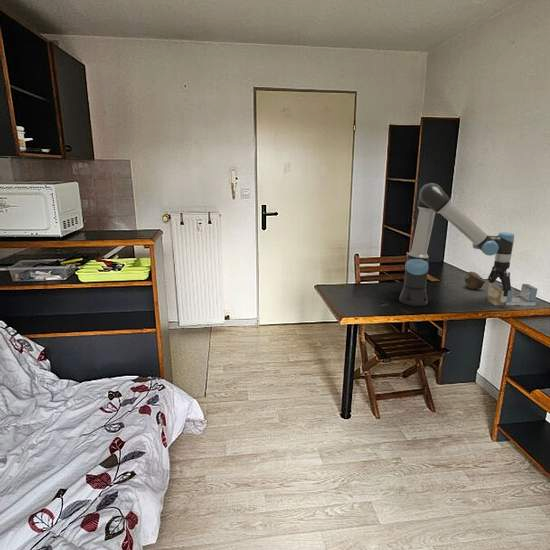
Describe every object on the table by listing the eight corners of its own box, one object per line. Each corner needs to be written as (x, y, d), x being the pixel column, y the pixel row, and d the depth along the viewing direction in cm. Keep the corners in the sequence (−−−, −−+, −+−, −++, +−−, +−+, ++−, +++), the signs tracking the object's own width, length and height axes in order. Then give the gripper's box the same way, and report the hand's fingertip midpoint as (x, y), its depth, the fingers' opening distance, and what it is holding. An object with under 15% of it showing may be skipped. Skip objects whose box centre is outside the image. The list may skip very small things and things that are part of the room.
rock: (489, 284, 242) (479, 276, 239) (476, 296, 246) (466, 288, 242) (478, 274, 253) (468, 266, 249) (465, 285, 256) (456, 278, 253)
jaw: (505, 301, 221) (508, 288, 219) (497, 296, 230) (499, 283, 228) (512, 301, 221) (514, 288, 219) (503, 296, 230) (505, 284, 227)
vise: (506, 305, 221) (509, 289, 218) (495, 298, 231) (498, 283, 228) (535, 305, 220) (538, 289, 218) (523, 299, 231) (526, 283, 228)
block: (494, 305, 221) (496, 291, 218) (487, 300, 228) (489, 287, 226) (503, 305, 221) (505, 291, 218) (495, 300, 228) (498, 287, 226)
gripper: (522, 266, 206) (516, 305, 211) (497, 255, 230) (492, 290, 235) (507, 266, 206) (501, 305, 212) (484, 255, 230) (479, 290, 236)
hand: (496, 297), depth 223 cm, fingers open, 13 cm apart
